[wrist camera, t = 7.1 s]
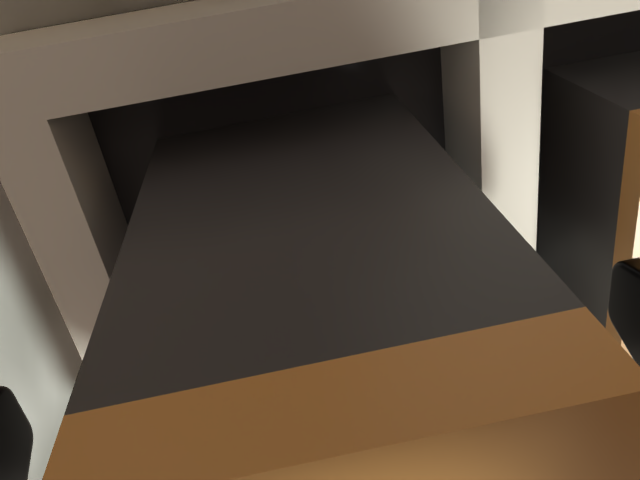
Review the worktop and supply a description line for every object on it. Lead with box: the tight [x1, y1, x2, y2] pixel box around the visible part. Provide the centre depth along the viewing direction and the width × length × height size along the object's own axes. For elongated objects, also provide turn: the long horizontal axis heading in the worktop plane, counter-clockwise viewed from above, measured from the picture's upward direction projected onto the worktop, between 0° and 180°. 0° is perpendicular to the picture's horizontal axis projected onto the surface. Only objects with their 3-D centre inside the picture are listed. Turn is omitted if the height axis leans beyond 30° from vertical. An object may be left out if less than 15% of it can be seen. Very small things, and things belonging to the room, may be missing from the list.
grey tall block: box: [42, 94, 640, 480], centre depth 9 cm, size 4×4×8 cm
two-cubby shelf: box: [0, 0, 640, 361], centre depth 12 cm, size 16×9×2 cm, turn 99°
